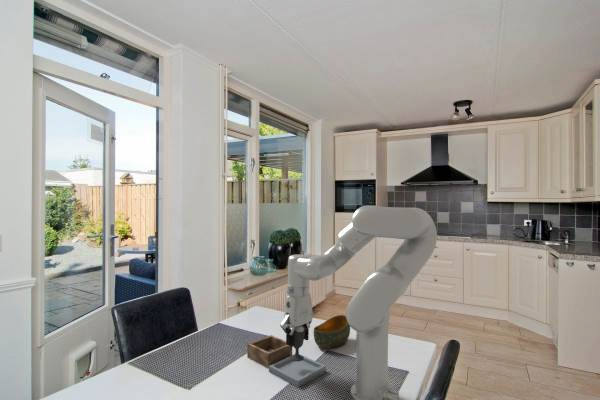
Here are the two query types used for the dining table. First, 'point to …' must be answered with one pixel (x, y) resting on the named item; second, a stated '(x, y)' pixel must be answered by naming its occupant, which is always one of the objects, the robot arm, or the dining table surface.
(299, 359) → the sundae
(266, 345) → the holder
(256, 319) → the dining table surface
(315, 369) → the tray
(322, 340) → the green bowl
